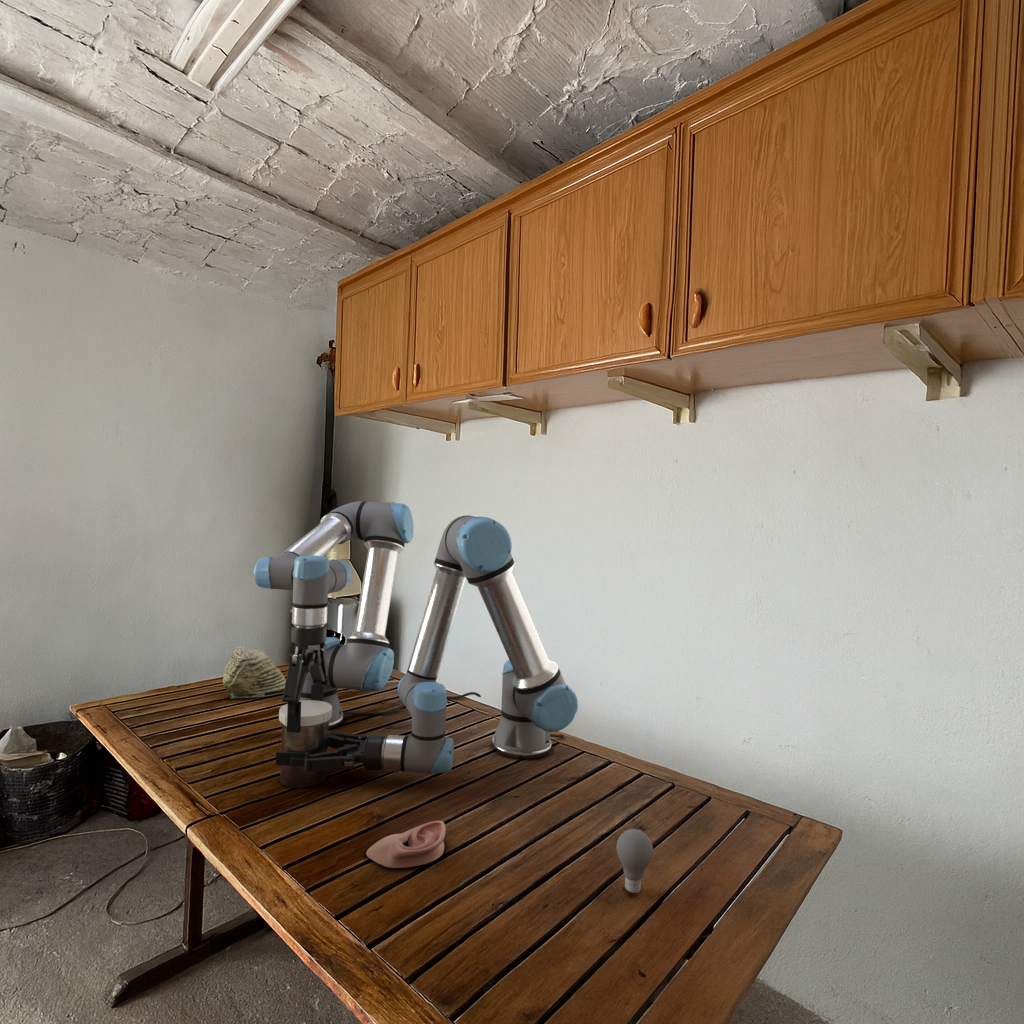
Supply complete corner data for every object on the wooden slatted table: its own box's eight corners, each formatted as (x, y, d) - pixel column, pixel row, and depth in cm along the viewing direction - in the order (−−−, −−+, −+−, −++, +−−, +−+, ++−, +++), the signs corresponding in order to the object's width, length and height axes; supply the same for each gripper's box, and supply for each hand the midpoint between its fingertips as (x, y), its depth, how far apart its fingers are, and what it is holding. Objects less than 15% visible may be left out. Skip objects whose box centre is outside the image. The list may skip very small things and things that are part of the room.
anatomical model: (359, 840, 110) (385, 809, 121) (358, 862, 110) (384, 829, 121) (431, 852, 107) (451, 819, 119) (431, 875, 107) (451, 840, 119)
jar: (314, 764, 149) (316, 701, 149) (334, 779, 142) (337, 713, 142) (272, 776, 142) (274, 709, 142) (291, 792, 135) (294, 722, 135)
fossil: (218, 695, 195) (220, 647, 195) (278, 685, 208) (279, 640, 207) (228, 703, 189) (230, 653, 188) (289, 692, 201) (290, 645, 201)
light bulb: (610, 879, 108) (613, 822, 108) (644, 879, 109) (647, 822, 109) (619, 902, 102) (622, 840, 102) (655, 901, 103) (658, 840, 103)
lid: (288, 730, 134) (288, 720, 134) (272, 714, 143) (272, 704, 143) (339, 720, 141) (340, 711, 141) (321, 706, 150) (321, 697, 150)
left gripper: (315, 614, 154) (311, 704, 154) (267, 634, 130) (263, 740, 131) (345, 616, 153) (341, 706, 153) (301, 637, 129) (297, 743, 130)
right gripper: (372, 792, 131) (264, 787, 131) (393, 749, 153) (302, 745, 154) (373, 756, 131) (266, 751, 131) (394, 718, 153) (303, 714, 153)
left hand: (305, 722), depth 142 cm, fingers closed on lid, 11 cm apart
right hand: (285, 748), depth 142 cm, fingers closed on jar, 10 cm apart
